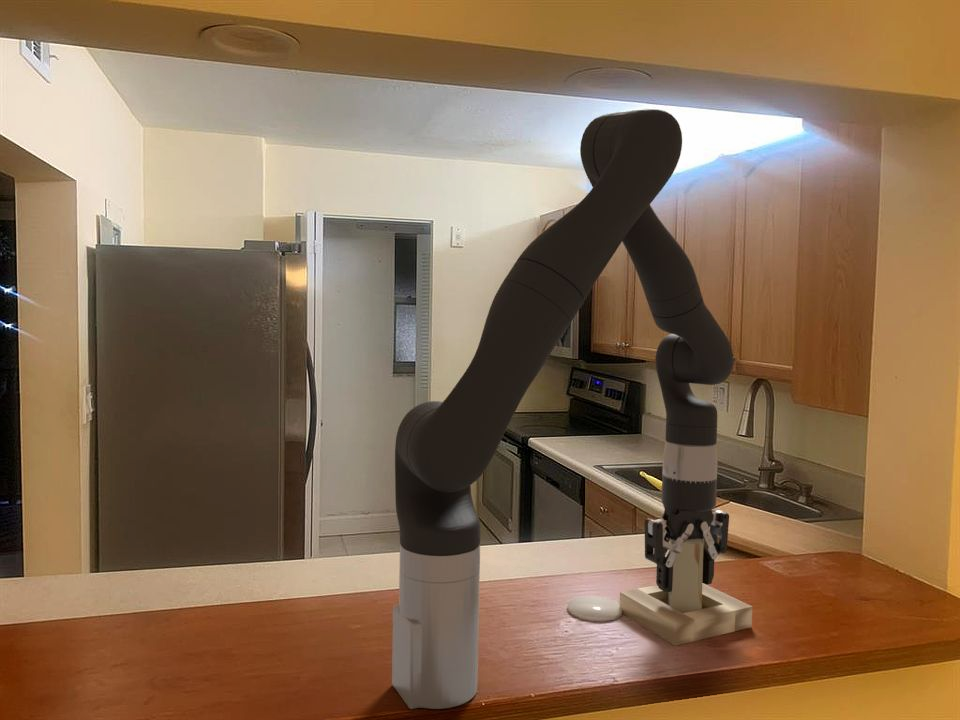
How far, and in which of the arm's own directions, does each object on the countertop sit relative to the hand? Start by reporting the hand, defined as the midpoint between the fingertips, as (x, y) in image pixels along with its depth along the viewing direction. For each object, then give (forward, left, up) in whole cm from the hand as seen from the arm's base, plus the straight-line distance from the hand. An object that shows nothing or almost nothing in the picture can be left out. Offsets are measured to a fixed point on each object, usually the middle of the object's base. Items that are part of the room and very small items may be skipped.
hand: (685, 586), depth 103 cm
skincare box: (0, 0, -5) cm, 5 cm away
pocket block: (0, 0, -5) cm, 5 cm away
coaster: (-10, +8, -5) cm, 14 cm away
